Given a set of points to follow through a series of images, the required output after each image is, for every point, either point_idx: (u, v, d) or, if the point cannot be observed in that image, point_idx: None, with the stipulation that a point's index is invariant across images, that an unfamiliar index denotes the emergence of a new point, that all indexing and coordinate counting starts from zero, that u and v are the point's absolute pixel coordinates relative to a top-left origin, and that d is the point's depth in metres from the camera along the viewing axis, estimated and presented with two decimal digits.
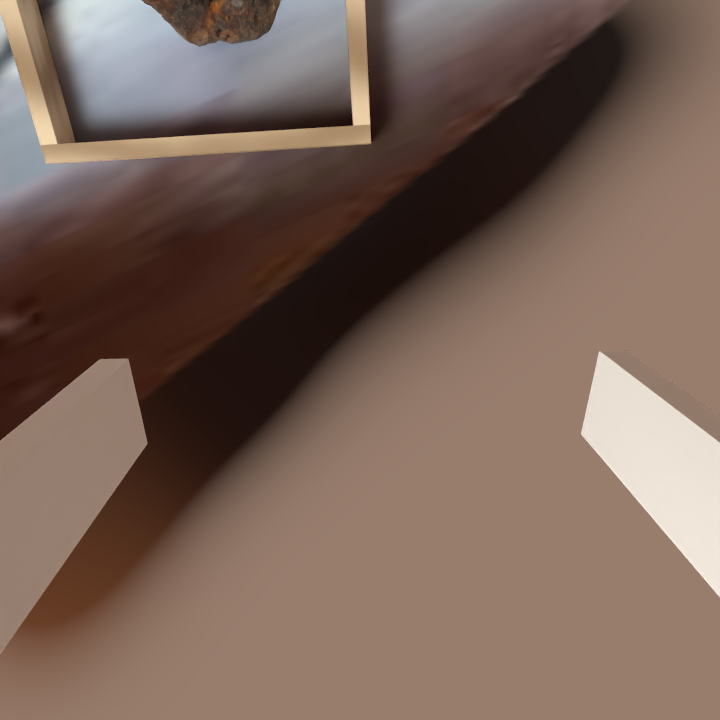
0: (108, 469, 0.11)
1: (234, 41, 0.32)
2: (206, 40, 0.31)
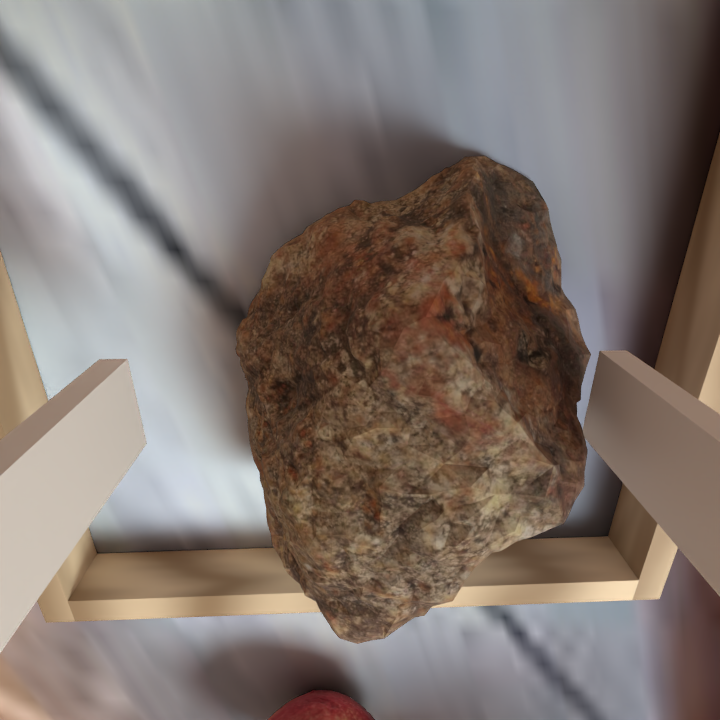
0: (107, 469, 0.11)
1: (558, 255, 0.16)
2: (573, 312, 0.15)
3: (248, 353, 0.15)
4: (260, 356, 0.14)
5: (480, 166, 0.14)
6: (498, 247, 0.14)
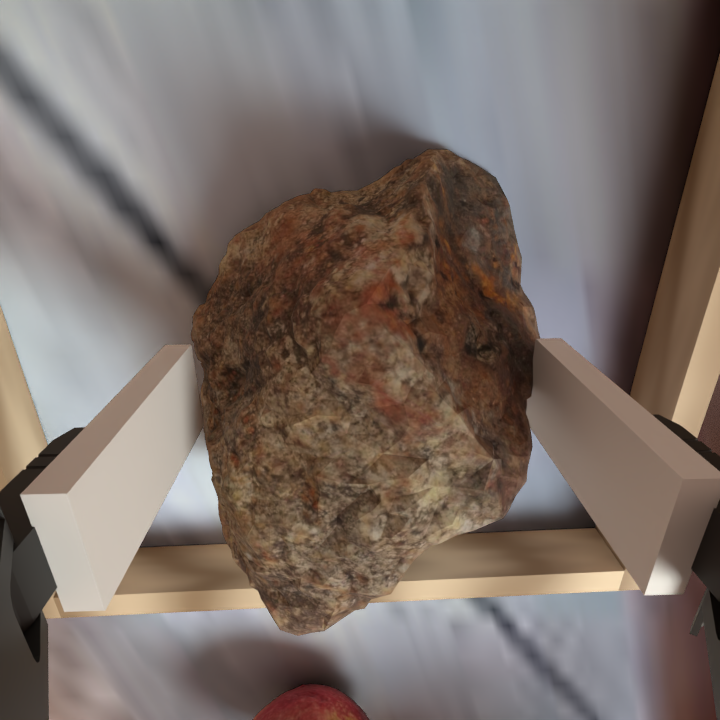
0: (178, 445, 0.12)
1: (519, 252, 0.15)
2: (531, 310, 0.15)
3: (201, 339, 0.15)
4: (212, 341, 0.14)
5: (440, 159, 0.14)
6: (454, 240, 0.14)
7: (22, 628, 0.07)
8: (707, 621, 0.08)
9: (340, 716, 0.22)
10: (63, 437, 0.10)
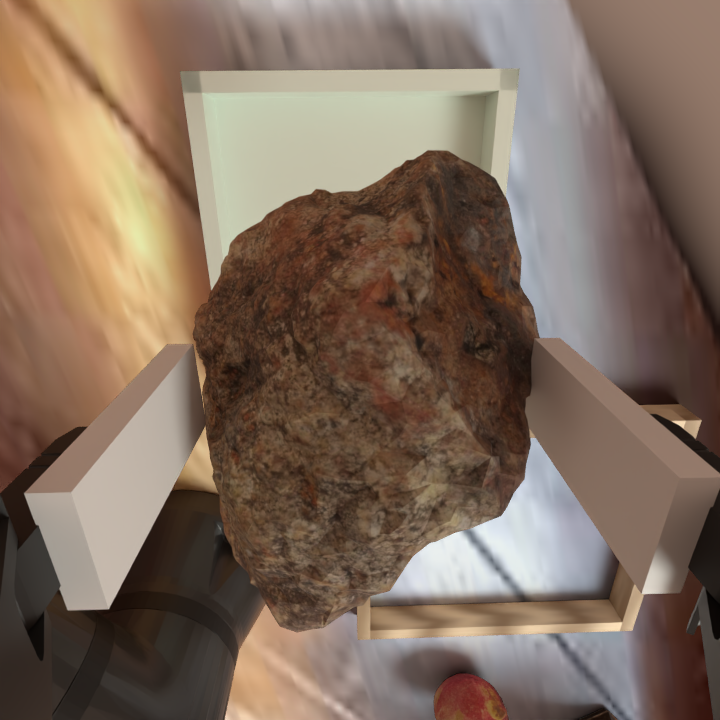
0: (180, 444, 0.12)
1: (518, 252, 0.16)
2: (530, 309, 0.15)
3: (203, 338, 0.15)
4: (213, 340, 0.14)
5: (440, 159, 0.14)
6: (454, 240, 0.14)
7: (26, 626, 0.07)
8: (703, 620, 0.08)
9: (485, 688, 0.46)
10: (65, 437, 0.10)
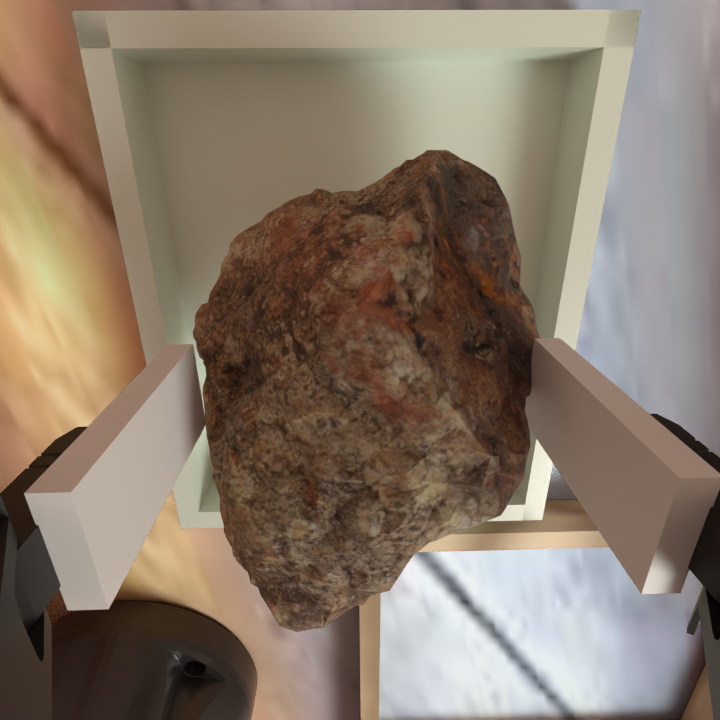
0: (180, 444, 0.12)
1: (518, 252, 0.16)
2: (530, 309, 0.15)
3: (203, 337, 0.15)
4: (213, 340, 0.14)
5: (440, 159, 0.14)
6: (454, 239, 0.14)
7: (26, 626, 0.07)
8: (703, 620, 0.08)
9: None
10: (66, 437, 0.10)
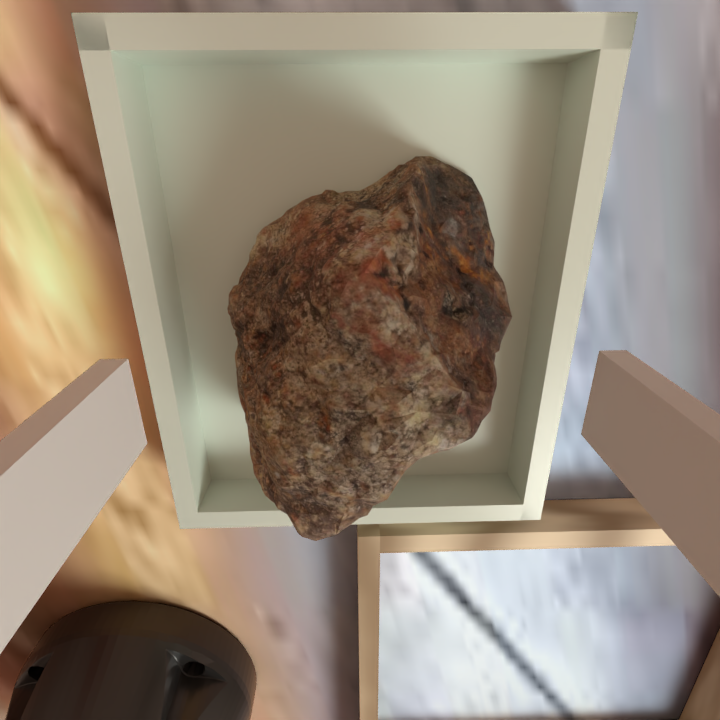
0: (108, 469, 0.11)
1: (492, 238, 0.19)
2: (501, 284, 0.19)
3: (236, 311, 0.18)
4: (245, 312, 0.18)
5: (425, 164, 0.18)
6: (436, 228, 0.17)
7: None
8: None
9: None
10: None
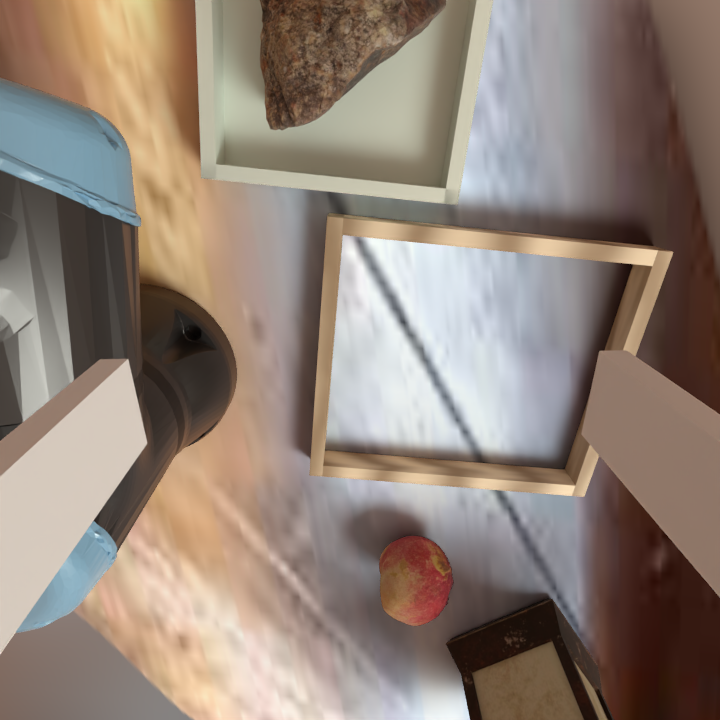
0: (108, 469, 0.11)
1: None
2: None
3: None
4: None
5: None
6: None
7: None
8: None
9: (433, 546, 0.46)
10: None
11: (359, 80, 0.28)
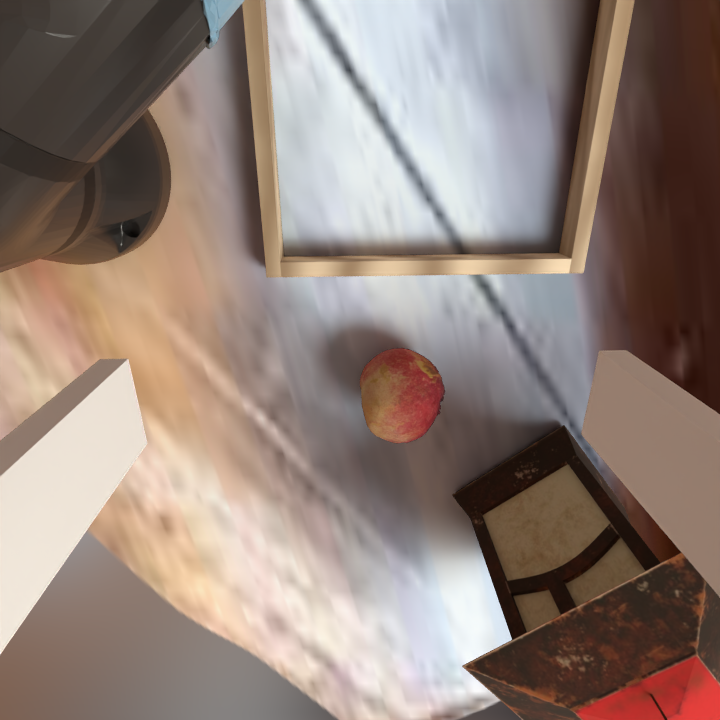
0: (108, 469, 0.11)
1: None
2: None
3: None
4: None
5: None
6: None
7: None
8: None
9: (418, 354, 0.41)
10: None
11: None
